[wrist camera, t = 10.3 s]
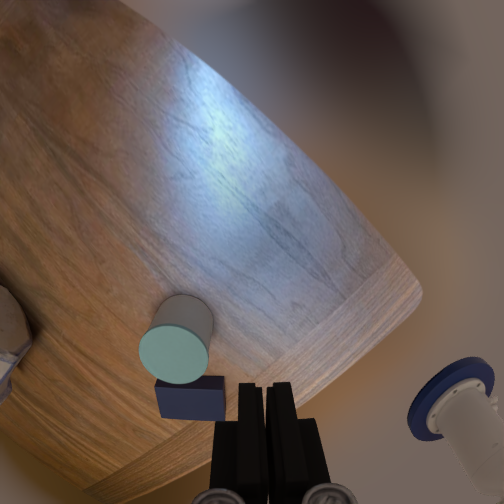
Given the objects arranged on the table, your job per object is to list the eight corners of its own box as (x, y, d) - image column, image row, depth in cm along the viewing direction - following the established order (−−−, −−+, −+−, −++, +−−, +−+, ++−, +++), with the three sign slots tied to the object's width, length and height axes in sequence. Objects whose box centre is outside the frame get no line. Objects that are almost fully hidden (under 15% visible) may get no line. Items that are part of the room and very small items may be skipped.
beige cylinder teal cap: (163, 320, 42) (146, 271, 35) (216, 322, 42) (211, 272, 35) (152, 392, 35) (127, 356, 28) (213, 396, 35) (204, 361, 28)
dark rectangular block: (223, 376, 41) (222, 390, 38) (225, 407, 43) (225, 421, 40) (158, 373, 41) (153, 386, 38) (164, 404, 43) (160, 418, 40)
